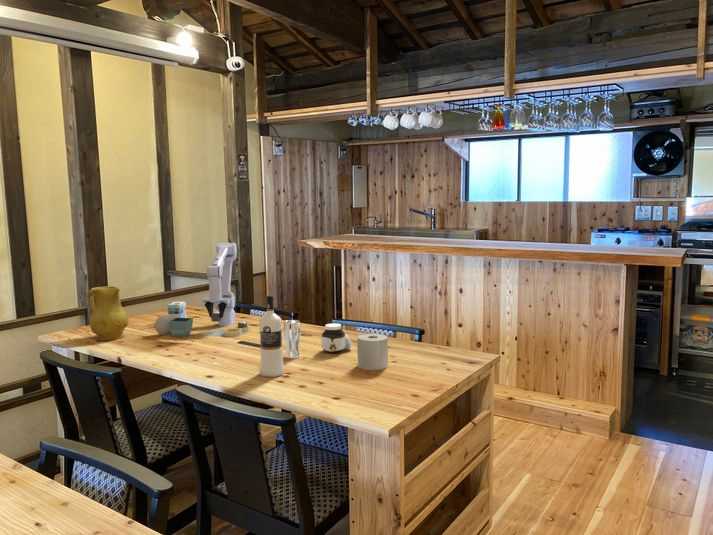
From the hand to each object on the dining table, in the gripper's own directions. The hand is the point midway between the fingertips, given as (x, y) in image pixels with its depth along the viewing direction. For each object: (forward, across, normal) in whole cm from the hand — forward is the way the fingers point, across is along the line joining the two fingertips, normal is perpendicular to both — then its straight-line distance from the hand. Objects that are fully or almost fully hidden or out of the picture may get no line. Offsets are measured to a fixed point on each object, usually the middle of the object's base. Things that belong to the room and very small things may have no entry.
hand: (216, 317), depth 283 cm
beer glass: (+8, +53, -29) cm, 61 cm away
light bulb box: (+9, -34, +17) cm, 39 cm away
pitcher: (+8, -47, -20) cm, 52 cm away
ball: (+8, -23, -9) cm, 26 cm away
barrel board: (+8, +6, -1) cm, 10 cm away
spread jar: (+8, +68, -15) cm, 70 cm away
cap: (+2, 0, 0) cm, 2 cm away
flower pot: (+8, -12, -12) cm, 19 cm away
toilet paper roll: (+8, +89, -33) cm, 95 cm away
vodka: (+8, +55, -53) cm, 77 cm away
